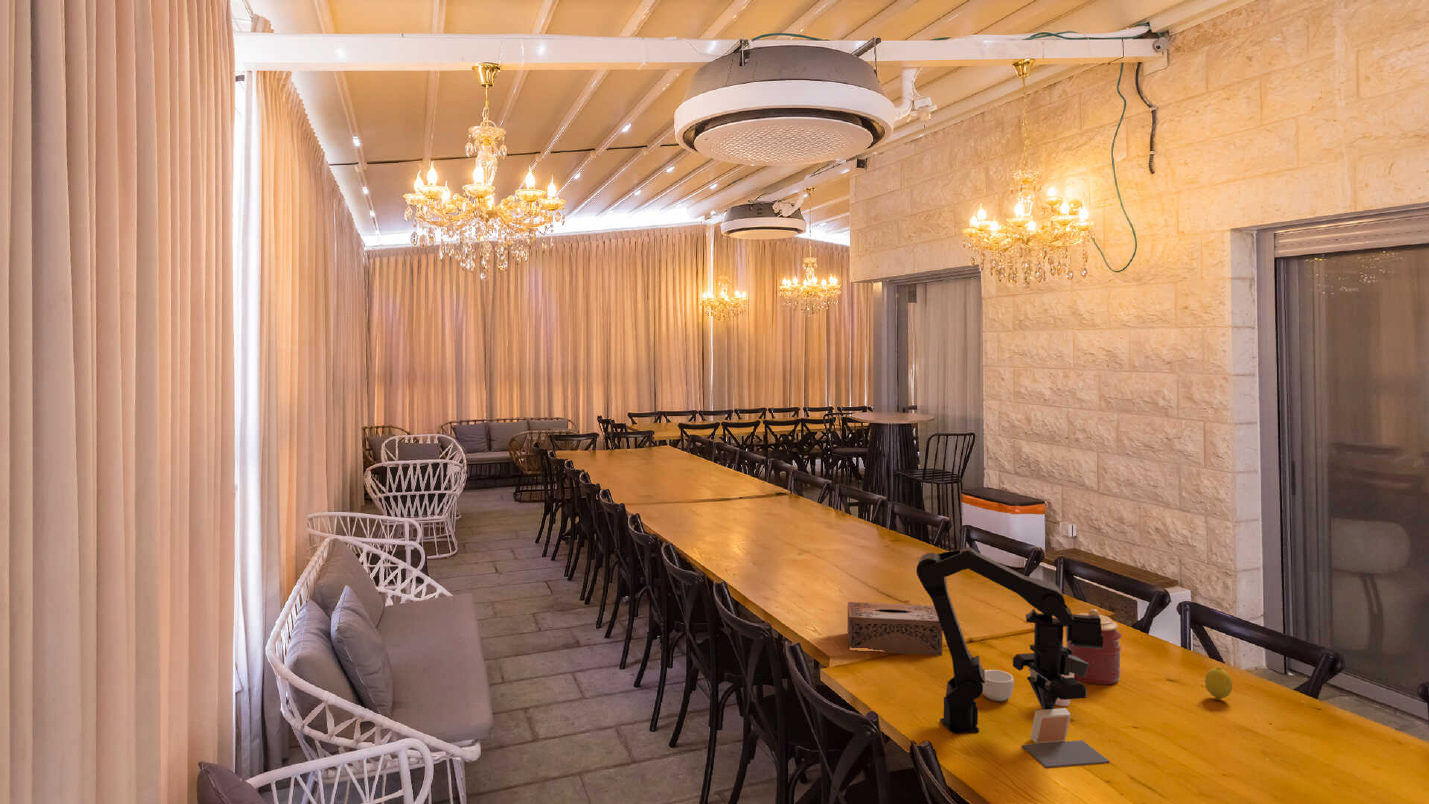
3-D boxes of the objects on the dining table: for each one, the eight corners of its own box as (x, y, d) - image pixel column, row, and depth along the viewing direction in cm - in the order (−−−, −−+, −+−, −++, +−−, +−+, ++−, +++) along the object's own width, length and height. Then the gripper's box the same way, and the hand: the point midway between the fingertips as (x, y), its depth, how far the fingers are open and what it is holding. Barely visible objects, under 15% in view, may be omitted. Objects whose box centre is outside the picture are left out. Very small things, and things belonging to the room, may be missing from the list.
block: (1035, 744, 166) (1040, 716, 164) (1030, 737, 168) (1035, 710, 166) (1065, 741, 167) (1071, 714, 165) (1059, 734, 169) (1065, 708, 167)
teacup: (1007, 707, 184) (1007, 685, 184) (975, 698, 189) (975, 676, 189) (1020, 693, 192) (1020, 672, 192) (989, 685, 197) (989, 664, 196)
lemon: (1206, 692, 192) (1207, 661, 192) (1233, 698, 189) (1234, 666, 188) (1203, 700, 188) (1204, 667, 188) (1230, 706, 184) (1231, 673, 184)
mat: (1046, 767, 156) (1046, 766, 156) (1022, 746, 165) (1022, 744, 165) (1109, 762, 158) (1109, 761, 158) (1082, 741, 167) (1082, 740, 167)
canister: (1115, 690, 194) (1116, 620, 193) (1059, 677, 202) (1061, 610, 201) (1124, 673, 204) (1126, 607, 203) (1071, 662, 212) (1073, 598, 211)
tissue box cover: (848, 651, 221) (849, 616, 220) (847, 634, 235) (847, 601, 235) (942, 656, 217) (942, 621, 217) (934, 638, 231) (935, 605, 231)
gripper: (1111, 656, 159) (1109, 731, 160) (1056, 626, 178) (1055, 693, 178) (1061, 660, 157) (1060, 735, 158) (1012, 629, 176) (1011, 697, 177)
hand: (1047, 714), depth 168 cm, fingers closed
